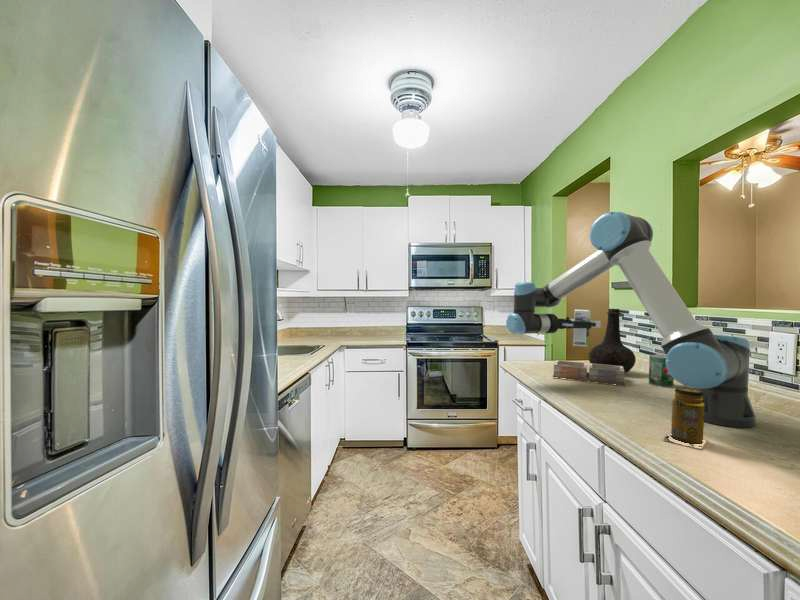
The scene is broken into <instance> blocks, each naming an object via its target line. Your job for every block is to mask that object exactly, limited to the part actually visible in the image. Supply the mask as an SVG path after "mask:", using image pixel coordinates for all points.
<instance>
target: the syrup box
mask: <svg viewBox="0 0 800 600" xmlns="http://www.w3.org/2000/svg"><path fill="white" fill-rule="evenodd" d="M573 319H574V321H591V310H590V309H577V308H576V309H574V311H573ZM590 330H591V328H590V329H589V330H586V328H573V336H572V337H573V339H572V341H573V342H572V346H573V347H584V348H585V347H586V348H588V347H589V346H590V345H589V344H590Z"/></svg>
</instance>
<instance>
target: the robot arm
mask: <svg viewBox="0 0 800 600" xmlns="http://www.w3.org/2000/svg"><path fill="white" fill-rule="evenodd" d="M653 237H654V229H653V227H652V226H651V224H650V223H649V221H648V220H646V219H645V218H642V217H640V216H634V215H630V214H627V213H625V212H622V211H609V212H605V213H603V214H601V215H600V216H599V217H598V218H596V219H595V221H594V222H593V223H592V225H591V228H590V231H589V240H590V244H591V245H592V246H593V248H595V249H597V250H595V251H594V252H592V253H591V254H590V255H588V256H587V257H585V258H584V259H582V260H581V261H579V262H578V263H577V264H575V265H574V266H572V267H571V268H570V269H567V271H565V272H563V273H562V274H560V275H559V276H557V278H555V279H554V280H552V281H550V282H549V283H548V284H546V285H544V286H543V287H536V283H535V282H533V281H532V282H530V281H529V282H527V281H522V282H521V281H519V282H516V283H515V284H514V290H513V291H514V293H513V295H514V296H513V312H512V313H511V314H509V315H508V316H507V319H506V323H505V325H506V328H507V330H508V332H509V333H511V334H518V335H519V334H521V335H525V334H526V335H528V334H536V335H537V336H539V335H540V334H555V333H556V332H557V331H559V329H560V330H564V329H567V330H568V329H569V330H571V329H574V328H586V330H589V329H590V330H591V329H599V328H600V329H601V324H602V323H601V321H602V320H590V321H574V318H570V317H568V316H567V317H565V318H558V316H557V315H556V314H554V313H535V311H536V310H535V308H552V307H556V306H558V305H559V304H560V303H561V300H562V299H563V298H565V297H567V296H568V295H571V294H572V293H573V292H575V291H576V290H578V289H579V288H582V287H583V286H584V285H586V284H588V283H589V282H591V281H592V280H594V279H595V278H598V277H599V276H601V275H602V274H604V273H605V272H607V271H609V270H610V269H611V268H613V267H614V266H618V267H619V269H620V270H621V272H622V274H623V275H624V277H625V278H626V280H627V282H628V283H629V285H630V286H631V288H632V290H633V291H634V293H635V295H636V296H637V298H638V300H639V302H641V304H642V306H643V307H644V309H645V310H646V312H647V314H648V316H649V317H650V319H651V321H652V322H653V324H654V325H655V328H657V330H658V333H659V334H660V335H661V337H662V342H661V345H660V347H661V348H662V351H663V352H664V355H667V358H666V367H667V370H668V372H669V373H670V375H671V376H672V377H673V378H674V380H675V381H677V382H678V383H679V384H681V385H683V386H685V387H686V388H692V389H697V390H700V391H702V392H703V401H702V402H703V403H704V406H705V408H704V423H705V422H706V423H708V424H709V423H710V424H714V425H718V426H725V427H731V428H732V427H733V428H753V427H755V426H756V423H757V421H756V420H757V418H756V416H757V415H756V414H755V411H754V408H753V406H752V403H751V400H750V397H749V375H750V374H749V373H750V369H749V368H750V353H751V348H750V342H749V340H748V339H747V338H745V337H739V336H730V335H722V334H714V333H713V332H712V330H711V329H710V327H708V326H705V325H701V324H699V323H698V322H697V320H696V318H695V317H694V316H693V314H692V312H691V311H690V310H689V308H688V307H687V305H686V303H685V302H684V301H683V299H682V298H681V296H680V294H679V293H678V292H677V290H676V289H675V287H674V286H673V284H672V283H671V282H670V280H669V278H668V277H667V276H666V274H665V272H664V271H663V269H662V268H661V267H660V265H659V263H658V262H657V261H656V259H655V258H654V256H653V254H652V253H651V251H650V248H651V245H652V241H653ZM590 330H589V331H590Z"/></svg>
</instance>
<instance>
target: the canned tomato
mask: <svg viewBox="0 0 800 600" xmlns="http://www.w3.org/2000/svg"><path fill="white" fill-rule="evenodd" d="M666 358H667V355H666V354H649V359H648V360H649V361H648V363H649V366H648V367H649V368H648V369H649V370H648V385H650V384H651V385H650V386H653V385H654V386H655V387H658V386H660V388H668V387H669V388H674V383H675V382H674V380H675V379H674V378H673V377H672V376H671V375H670V373H669V372H668V370H667V367H666Z"/></svg>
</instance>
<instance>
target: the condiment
mask: <svg viewBox="0 0 800 600" xmlns="http://www.w3.org/2000/svg"><path fill="white" fill-rule="evenodd" d="M702 401H703V392H702V391H700V390H697V389H693V388H690V387H686V386H685V387H684V386H682V387H681V386H680V387H676V388H675V389H674V397H673V399H672V403H671V405H672V407H671V408H672V409H671V427H670V429H671V430H670V432H668V434H672V435H670V436H671V437H672V438H673V439H675V440H678V441H681V442H684V443H689V444H702V443H703V441H702V440H706V441H707V440H708V439H705V438H704V428H705V422H704V408H705V406H704V403H703V402H702ZM668 438H669V436H667V435H665V437H664V438H662V440H663V441H666V442H668V441H670V440H669V439H668ZM707 442H708V441H707ZM669 443H671V441H670V442H669ZM699 447H702V446H699Z"/></svg>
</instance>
